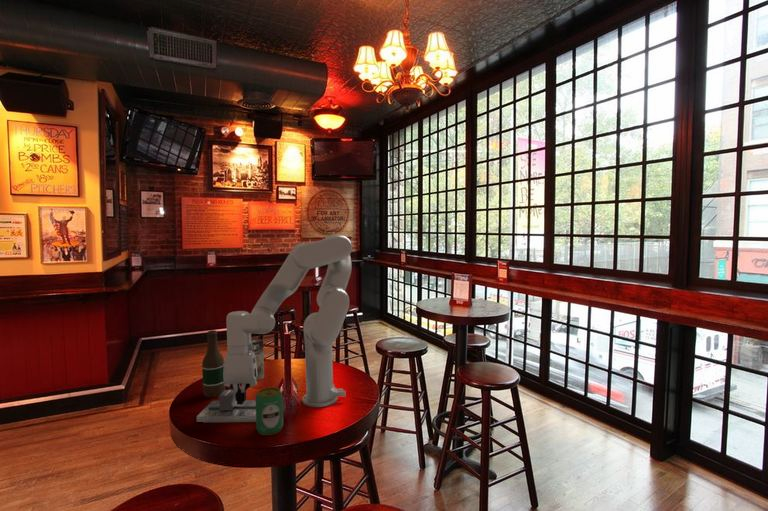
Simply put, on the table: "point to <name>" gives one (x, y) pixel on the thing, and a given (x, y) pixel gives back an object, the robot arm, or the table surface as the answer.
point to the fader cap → (227, 400)
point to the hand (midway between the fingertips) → (241, 402)
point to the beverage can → (269, 411)
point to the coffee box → (259, 357)
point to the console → (229, 413)
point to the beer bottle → (213, 368)
